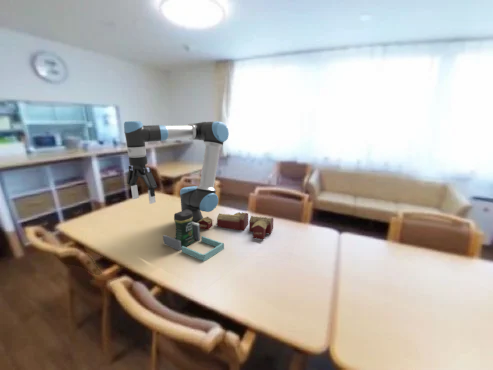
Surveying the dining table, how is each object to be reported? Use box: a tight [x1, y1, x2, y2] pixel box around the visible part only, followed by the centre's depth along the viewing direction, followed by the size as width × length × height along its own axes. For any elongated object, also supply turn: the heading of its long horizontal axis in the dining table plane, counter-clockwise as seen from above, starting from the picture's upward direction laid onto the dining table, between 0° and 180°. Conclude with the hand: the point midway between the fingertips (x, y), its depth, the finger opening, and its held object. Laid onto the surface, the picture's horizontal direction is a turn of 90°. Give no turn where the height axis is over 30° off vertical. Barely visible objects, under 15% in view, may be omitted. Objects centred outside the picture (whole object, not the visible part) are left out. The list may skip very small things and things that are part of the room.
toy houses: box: [197, 211, 274, 240], centre depth 146 cm, size 45×20×10 cm, turn 74°
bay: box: [162, 222, 201, 252], centre depth 129 cm, size 14×13×10 cm
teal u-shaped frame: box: [181, 235, 225, 262], centre depth 121 cm, size 15×16×3 cm
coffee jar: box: [173, 209, 195, 247], centre depth 127 cm, size 10×8×19 cm
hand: (143, 200), depth 113 cm, fingers open, 13 cm apart
